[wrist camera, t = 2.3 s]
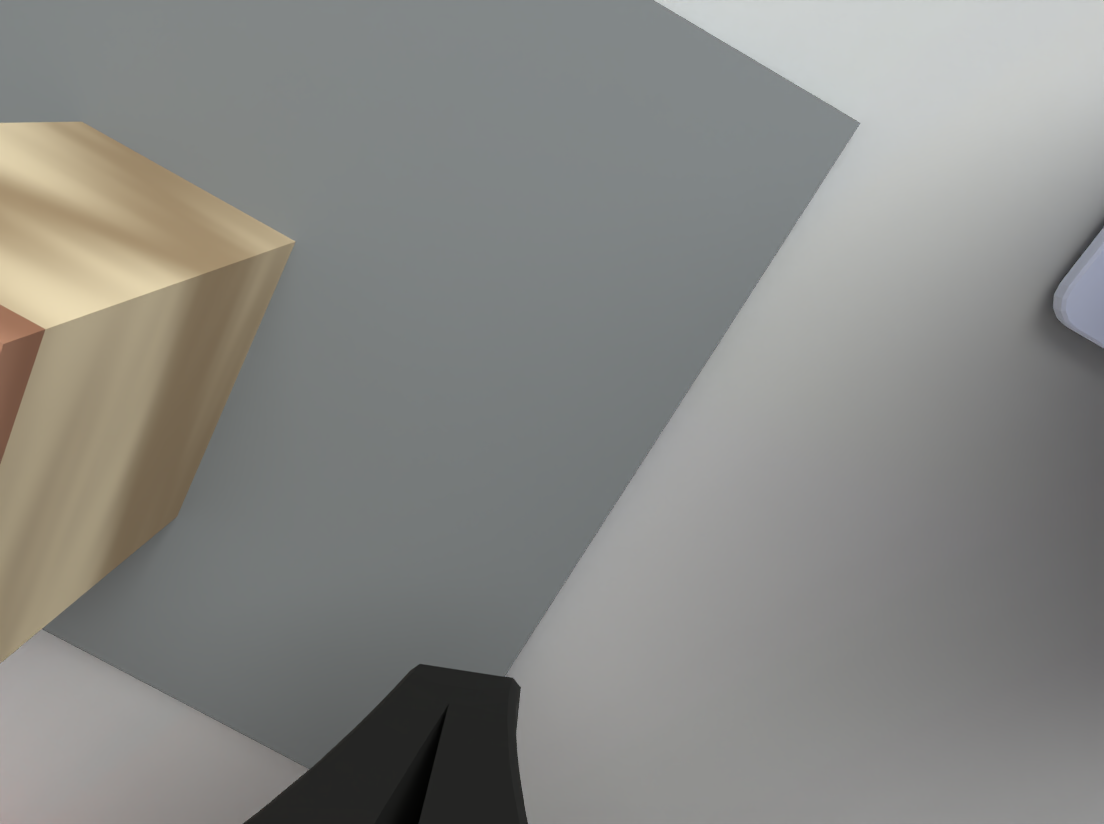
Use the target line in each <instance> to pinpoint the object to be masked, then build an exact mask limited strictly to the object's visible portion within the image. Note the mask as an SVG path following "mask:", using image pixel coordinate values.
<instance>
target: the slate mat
mask: <svg viewBox="0 0 1104 824" xmlns="http://www.w3.org/2000/svg"><path fill="white" fill-rule="evenodd" d="M23 122H83V123H85V124H87V125H89V126H91V127H92V128H94V129H96V130H98V131H99V132H101V133H103V134H105V135H107V136H108V137H110V138H112V139H114V140H115V141H117V142H119V143H121V144H123V145H124V146H126V147H128V148H130V149H132V150H133V151H135V152H137V153H139V154H140V155H142V156H144V157H146V158H148V159H149V160H151V161H153V162H155V163H156V164H158V165H160V166H162V167H164V168H165V169H167V170H169V171H171V172H172V173H174V174H176V175H178V176H180V177H181V178H183V179H185V180H187V181H189V182H190V183H192V184H194V185H196V186H197V187H199V188H201V189H203V190H205V191H206V192H208V193H210V194H212V195H213V196H215V197H217V198H219V199H221V200H222V201H224V202H226V203H228V204H230V205H231V206H233V207H235V208H237V209H238V210H240V211H242V212H244V213H246V214H247V215H249V216H251V217H253V218H254V219H256V220H258V221H260V222H262V223H263V224H265V225H267V226H269V227H271V228H272V229H274V230H276V231H278V232H279V233H281V234H283V235H285V236H287V237H288V238H290V239H292V240H294V241H295V244H294V246H293V249H292V251H291V253H290V256H289V258H288V260H287V263H286V265H285V267H284V270H283V272H282V274H281V276H280V279H279V281H278V283H277V286H276V288H275V290H274V293H273V295H272V297H271V300H270V302H269V304H268V307H267V309H266V311H265V314H264V316H263V318H262V321H261V323H260V325H259V328H258V330H257V332H256V335H255V337H254V339H253V341H252V344H251V346H250V348H249V351H248V353H247V355H246V358H245V360H244V362H243V365H242V367H241V369H240V372H239V374H238V376H237V379H236V381H235V383H234V386H233V388H232V390H231V393H230V395H229V397H228V400H227V402H226V404H225V406H224V409H223V411H222V413H221V416H220V418H219V420H218V423H217V425H216V427H215V430H214V432H213V434H212V437H211V439H210V441H209V444H208V446H207V448H206V451H205V453H204V455H203V458H202V460H201V462H200V464H199V467H198V469H197V471H196V474H195V476H194V478H193V481H192V483H191V485H190V488H189V490H188V492H187V495H186V497H185V499H184V502H183V504H182V506H181V509H180V511H179V513H178V516H177V517H176V518H175V519H173V520H172V521H171V522H170V523H169V524H167V525H166V526H165V527H164V528H163V529H161V530H160V531H159V532H158V533H157V534H155V535H154V536H153V537H152V538H151V539H149V540H148V541H147V542H146V543H145V544H143V545H142V546H141V547H140V548H139V549H137V550H136V551H135V552H134V553H133V554H131V555H130V556H129V557H128V558H127V559H125V560H124V561H123V562H122V563H121V564H119V565H118V566H117V567H116V568H115V569H113V570H112V571H111V572H110V573H109V574H107V575H106V576H105V577H104V578H103V579H101V580H100V581H99V582H98V583H96V584H95V585H94V586H93V587H92V588H90V589H89V590H88V591H87V592H86V593H84V594H83V595H82V596H81V597H80V598H78V599H77V600H76V601H75V602H74V603H72V604H71V605H70V606H69V607H68V608H66V609H65V610H64V611H63V612H62V613H60V614H59V615H58V616H57V617H56V618H54V619H53V620H52V621H51V622H50V623H48V624H47V625H46V626H45V627H44V628H42V629H43V630H45V631H47V632H49V633H51V634H53V635H54V636H56V637H58V638H60V639H62V640H64V641H66V642H68V643H70V644H72V645H74V646H75V647H77V648H79V649H81V650H83V651H85V652H87V653H89V654H91V655H93V656H95V657H96V658H98V659H100V660H102V661H104V662H106V663H108V664H110V665H112V666H114V667H116V668H117V669H119V670H121V671H123V672H125V673H127V674H129V675H131V676H133V677H135V678H137V679H138V680H140V681H142V682H144V683H146V684H148V685H150V686H152V687H154V688H156V689H158V690H159V691H161V692H163V693H165V694H167V695H169V696H171V697H173V698H175V699H177V700H179V701H180V702H182V703H184V704H186V705H188V706H190V707H192V708H194V709H196V710H198V711H200V712H201V713H203V714H205V715H207V716H209V717H211V718H213V719H215V720H217V721H219V722H221V723H222V724H224V725H226V726H228V727H230V728H232V729H234V730H236V731H238V732H240V733H242V734H243V735H245V736H247V737H249V738H251V739H253V740H255V741H257V742H259V743H261V744H263V745H264V746H266V747H268V748H270V749H272V750H274V751H276V752H278V753H280V754H282V755H284V756H285V757H287V758H289V759H291V760H293V761H295V762H297V763H299V764H301V765H303V766H305V767H306V768H308V769H311V768H312V767H313V766H314V765H315V764H316V763H317V762H318V761H320V760H321V759H322V758H323V757H324V756H325V755H326V754H327V753H328V752H329V751H330V750H331V749H332V748H334V747H335V746H336V745H337V744H338V743H339V742H340V741H341V740H342V739H343V738H344V737H345V736H346V735H347V734H349V733H350V732H351V731H352V730H353V729H354V728H355V727H356V726H357V725H358V724H359V723H360V722H361V721H362V720H363V719H364V718H365V717H366V716H367V715H368V714H369V713H370V712H371V711H372V710H373V709H374V708H375V707H376V706H377V705H378V704H379V703H380V702H381V701H382V700H383V699H384V698H385V697H386V696H387V695H388V694H389V693H390V692H391V691H392V690H393V689H394V687H395V686H396V685H397V684H398V683H399V682H400V681H401V680H402V679H403V678H404V677H405V676H406V675H407V673H408V672H409V671H410V670H411V669H413V668H414V667H416V666H417V665H419V664H425V665H431V666H438V667H444V668H451V669H457V670H464V671H470V672H477V673H483V674H490V675H496V676H503V677H504V676H505V675H506V673H507V672H508V670H509V668H510V667H511V665H512V664H513V662H514V661H515V659H516V658H517V656H518V654H519V653H520V651H521V650H522V648H523V647H524V645H525V644H526V642H527V640H528V639H529V637H530V636H531V634H532V633H533V631H534V630H535V628H536V627H537V625H538V623H539V622H540V620H541V619H542V617H543V616H544V614H545V613H546V611H547V609H548V608H549V606H550V605H551V603H552V602H553V600H554V599H555V597H556V595H557V594H558V592H559V591H560V589H561V588H562V586H563V585H564V583H565V581H566V580H567V578H568V577H569V575H570V574H571V572H572V571H573V569H574V567H575V566H576V564H577V563H578V561H579V560H580V558H581V557H582V555H583V553H584V552H585V550H586V549H587V547H588V546H589V544H590V543H591V541H592V539H593V538H594V536H595V535H596V533H597V532H598V530H599V529H600V527H601V525H602V524H603V522H604V521H605V519H606V518H607V516H608V515H609V513H610V511H611V510H612V508H613V507H614V505H615V504H616V502H617V501H618V499H619V497H620V496H621V494H622V493H623V491H624V490H625V488H626V487H627V485H628V483H629V482H630V480H631V479H632V477H633V476H634V474H635V473H636V471H637V469H638V468H639V466H640V465H641V463H642V462H643V460H644V459H645V457H646V455H647V454H648V452H649V451H650V449H651V448H652V446H653V445H654V443H655V441H656V440H657V438H658V437H659V435H660V434H661V432H662V431H663V429H664V427H665V426H666V424H667V423H668V421H669V420H670V418H671V417H672V415H673V413H674V412H675V410H676V409H677V407H678V406H679V404H680V403H681V401H682V399H683V398H684V396H685V395H686V393H687V392H688V390H689V389H690V387H691V385H692V384H693V382H694V381H695V379H696V378H697V376H698V375H699V373H700V372H701V370H702V368H703V367H704V365H705V364H706V362H707V361H708V359H709V358H710V356H711V354H712V353H713V351H714V350H715V348H716V347H717V345H718V344H719V342H720V340H721V339H722V337H723V336H724V334H725V333H726V331H727V330H728V328H729V326H730V325H731V323H732V322H733V320H734V319H735V317H736V316H737V314H738V312H739V311H740V309H741V308H742V306H743V305H744V303H745V302H746V300H747V298H748V297H749V295H750V294H751V292H752V291H753V289H754V288H755V286H756V284H757V283H758V281H759V280H760V278H761V277H762V275H763V274H764V272H765V270H766V269H767V267H768V266H769V264H770V263H771V261H772V260H773V258H774V256H775V255H776V253H777V252H778V250H779V249H780V247H781V246H782V244H783V242H784V241H785V239H786V238H787V236H788V235H789V233H790V232H791V230H792V228H793V227H794V225H795V224H796V222H797V221H798V219H799V218H800V216H801V214H802V213H803V211H804V210H805V208H806V207H807V205H808V204H809V202H810V200H811V199H812V197H813V196H814V194H815V193H816V191H817V190H818V188H819V186H820V185H821V183H822V182H823V180H824V179H825V177H826V176H827V174H828V172H829V171H830V169H831V168H832V166H833V165H834V163H835V162H836V160H837V158H838V157H839V155H840V154H841V152H842V151H843V149H844V148H845V146H846V144H847V143H848V141H849V140H850V138H851V137H852V135H853V134H854V132H855V130H856V129H857V127H858V126H859V124H860V123H859V122H858V121H856V120H854V119H853V118H851V117H849V116H848V115H846V114H844V113H842V112H841V111H839V110H837V109H836V108H834V107H832V106H831V105H829V104H827V103H826V102H824V101H822V100H821V99H819V98H817V97H816V96H814V95H812V94H810V93H809V92H807V91H805V90H804V89H802V88H800V87H799V86H797V85H795V84H794V83H792V82H790V81H789V80H787V79H785V78H784V77H782V76H780V75H778V74H777V73H775V72H773V71H772V70H770V69H768V68H767V67H765V66H763V65H762V64H760V63H758V62H757V61H755V60H753V59H752V58H750V57H748V56H746V55H745V54H743V53H741V52H740V51H738V50H736V49H735V48H733V47H731V46H730V45H728V44H726V43H725V42H723V41H721V40H719V39H718V38H716V37H714V36H713V35H711V34H709V33H708V32H706V31H704V30H703V29H701V28H699V27H698V26H696V25H694V24H693V23H691V22H689V21H687V20H686V19H684V18H682V17H681V16H679V15H677V14H676V13H674V12H672V11H671V10H669V9H667V8H666V7H664V6H662V5H661V4H659V3H657V2H655V1H654V0H0V123H23Z"/></svg>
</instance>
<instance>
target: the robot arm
mask: <svg viewBox="0 0 1104 824" xmlns="http://www.w3.org/2000/svg"><path fill="white" fill-rule="evenodd" d="M1053 309H1054V312H1055V315H1056V317H1057V319H1058V320H1059V321H1060V322H1061V323H1063V324H1064V325H1065V326H1066V327H1068V328H1069V329H1071V330H1073V331H1074V332H1076V333H1078V334H1080V335H1081V336H1083V337H1085V338H1086V339H1088V340H1090V341H1091V342H1093V343H1095V344H1097V345H1098V346H1100V347H1102V348H1103V349H1104V227H1103V228H1102V230H1101V231H1100V232H1099V234H1098V235H1097V236H1096V237H1095V239H1094V240H1093V241H1092V243H1091V244H1090V245H1089V246H1088V248H1087V249H1086V250H1085V252H1084V253H1083V254H1082V255H1081V257H1080V258H1079V259H1078V261H1077V262H1076V263H1075V264H1074V266H1073V267H1072V268H1071V270H1070V271H1069V272H1068V273H1067V275H1066V276H1065V277H1064V279H1063V280H1062V281H1061V282H1060V284H1059V286H1058V288H1057V290H1056V292H1055V294H1054V299H1053ZM520 688H521V687H520V686H519V685H518V684H517V682H516V681H515V680H514V679H513V678H509V677H503V676H496V675H490V674H483V673H477V672H470V671H464V670H457V669H451V668H444V667H438V666H431V665H425V664H419V665H417V666H416V667H414V668H413V669H411V670H410V671H409V672H408V673H407V675H406V676H405V677H404V678H403V679H402V680H401V681H400V682H399V683H398V684H397V685H396V686H395V687H394V689H393V690H392V691H391V692H390V693H389V694H388V695H387V696H386V697H385V698H384V699H383V700H382V701H381V702H380V703H379V704H378V705H377V706H376V707H375V708H374V709H373V710H372V711H371V712H370V713H369V714H368V715H367V716H366V717H365V718H364V719H363V720H362V721H361V722H360V723H359V724H358V725H357V726H356V727H355V728H354V729H353V730H352V731H351V732H350V733H349V734H347V735H346V736H345V737H344V738H343V739H342V740H341V741H340V742H339V743H338V744H337V745H336V746H335V747H334V748H332V749H331V750H330V751H329V752H328V753H327V754H326V755H325V756H324V757H323V758H322V759H321V760H320V761H318V762H317V763H316V764H315V765H314V766H313V767H312V768H311V769H309V770H308V771H307V772H306V773H305V774H304V775H302V776H301V777H300V778H299V779H298V780H296V781H295V782H294V783H293V784H292V785H290V786H289V787H288V788H287V789H286V790H284V791H283V792H282V793H281V794H280V795H278V796H277V797H276V798H275V799H274V800H272V801H271V802H270V803H269V804H268V805H266V806H265V807H264V808H263V809H262V810H260V811H259V812H258V813H256V814H255V815H254V816H253V817H251V818H250V819H249V820H247V821H246V822H245V823H243V824H528V822H527V817H526V812H525V807H524V800H523V794H522V787H521V780H520V774H519V766H518V757H517V743H516V728H517V718H518V708H519V698H520Z"/></svg>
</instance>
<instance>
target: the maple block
mask: <svg viewBox="0 0 1104 824" xmlns="http://www.w3.org/2000/svg"><path fill="white" fill-rule="evenodd" d="M294 244H295V241H294V240H292V239H290V238H288V237H287V236H285V235H283V234H281V233H279V232H278V231H276V230H274V229H272V228H271V227H269V226H267V225H265V224H263V223H262V222H260V221H258V220H256V219H254V218H253V217H251V216H249V215H247V214H246V213H244V212H242V211H240V210H238V209H237V208H235V207H233V206H231V205H230V204H228V203H226V202H224V201H222V200H221V199H219V198H217V197H215V196H213V195H212V194H210V193H208V192H206V191H205V190H203V189H201V188H199V187H197V186H196V185H194V184H192V183H190V182H189V181H187V180H185V179H183V178H181V177H180V176H178V175H176V174H174V173H172V172H171V171H169V170H167V169H165V168H164V167H162V166H160V165H158V164H156V163H155V162H153V161H151V160H149V159H148V158H146V157H144V156H142V155H140V154H139V153H137V152H135V151H133V150H132V149H130V148H128V147H126V146H124V145H123V144H121V143H119V142H117V141H115V140H114V139H112V138H110V137H108V136H107V135H105V134H103V133H101V132H99V131H98V130H96V129H94V128H92V127H91V126H89V125H87V124H85V123H83V122H23V123H0V663H1V662H3V661H4V660H5V659H6V658H7V657H9V656H10V655H11V654H12V653H13V652H15V651H16V650H17V649H18V648H19V647H21V646H22V645H23V644H24V643H26V642H27V641H28V640H29V639H30V638H32V637H33V636H34V635H35V634H36V633H38V632H39V631H40V630H41V629H42V628H44V627H45V626H46V625H47V624H48V623H50V622H51V621H52V620H53V619H54V618H56V617H57V616H58V615H59V614H60V613H62V612H63V611H64V610H65V609H66V608H68V607H69V606H70V605H71V604H72V603H74V602H75V601H76V600H77V599H78V598H80V597H81V596H82V595H83V594H84V593H86V592H87V591H88V590H89V589H90V588H92V587H93V586H94V585H95V584H96V583H98V582H99V581H100V580H101V579H103V578H104V577H105V576H106V575H107V574H109V573H110V572H111V571H112V570H113V569H115V568H116V567H117V566H118V565H119V564H121V563H122V562H123V561H124V560H125V559H127V558H128V557H129V556H130V555H131V554H133V553H134V552H135V551H136V550H137V549H139V548H140V547H141V546H142V545H143V544H145V543H146V542H147V541H148V540H149V539H151V538H152V537H153V536H154V535H155V534H157V533H158V532H159V531H160V530H161V529H163V528H164V527H165V526H166V525H167V524H169V523H170V522H171V521H172V520H173V519H175V518H176V517H177V516H178V513H179V511H180V509H181V506H182V504H183V502H184V499H185V497H186V495H187V492H188V490H189V488H190V485H191V483H192V481H193V478H194V476H195V474H196V471H197V469H198V467H199V464H200V462H201V460H202V458H203V455H204V453H205V451H206V448H207V446H208V444H209V441H210V439H211V437H212V434H213V432H214V430H215V427H216V425H217V423H218V420H219V418H220V416H221V413H222V411H223V409H224V406H225V404H226V402H227V400H228V397H229V395H230V393H231V390H232V388H233V386H234V383H235V381H236V379H237V376H238V374H239V372H240V369H241V367H242V365H243V362H244V360H245V358H246V355H247V353H248V351H249V348H250V346H251V344H252V341H253V339H254V337H255V335H256V332H257V330H258V328H259V325H260V323H261V321H262V318H263V316H264V314H265V311H266V309H267V307H268V304H269V302H270V300H271V297H272V295H273V293H274V290H275V288H276V286H277V283H278V281H279V279H280V276H281V274H282V272H283V270H284V267H285V265H286V263H287V260H288V258H289V256H290V253H291V251H292V249H293V246H294Z"/></svg>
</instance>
